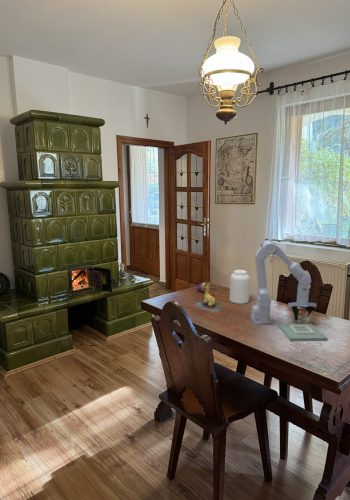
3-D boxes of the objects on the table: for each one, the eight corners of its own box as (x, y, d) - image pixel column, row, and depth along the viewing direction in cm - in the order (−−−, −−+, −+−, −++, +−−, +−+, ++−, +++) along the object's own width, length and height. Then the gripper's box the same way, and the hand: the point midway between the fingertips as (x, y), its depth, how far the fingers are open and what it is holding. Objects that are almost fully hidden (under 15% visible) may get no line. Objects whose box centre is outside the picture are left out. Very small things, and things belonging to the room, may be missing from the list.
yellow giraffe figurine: (202, 300, 223) (203, 276, 219) (228, 306, 213) (229, 281, 209) (189, 307, 210) (190, 283, 206) (216, 314, 200) (217, 288, 196)
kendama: (208, 293, 224) (195, 283, 242) (209, 301, 226) (196, 291, 244) (216, 291, 226) (202, 281, 244) (217, 299, 228) (203, 288, 246)
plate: (290, 340, 163) (290, 336, 163) (277, 326, 181) (277, 322, 180) (327, 340, 164) (327, 336, 163) (311, 325, 181) (311, 321, 181)
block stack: (298, 324, 183) (299, 311, 181) (294, 321, 187) (295, 308, 186) (307, 324, 183) (308, 311, 181) (303, 321, 188) (304, 308, 186)
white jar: (242, 305, 213) (244, 274, 209) (225, 301, 221) (226, 270, 217) (252, 300, 222) (254, 270, 219) (235, 296, 230) (236, 267, 227)
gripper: (292, 297, 178) (290, 322, 181) (319, 297, 179) (317, 322, 181) (287, 293, 185) (285, 317, 188) (313, 293, 186) (311, 317, 188)
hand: (301, 319), depth 185 cm, fingers closed on block stack, 5 cm apart
